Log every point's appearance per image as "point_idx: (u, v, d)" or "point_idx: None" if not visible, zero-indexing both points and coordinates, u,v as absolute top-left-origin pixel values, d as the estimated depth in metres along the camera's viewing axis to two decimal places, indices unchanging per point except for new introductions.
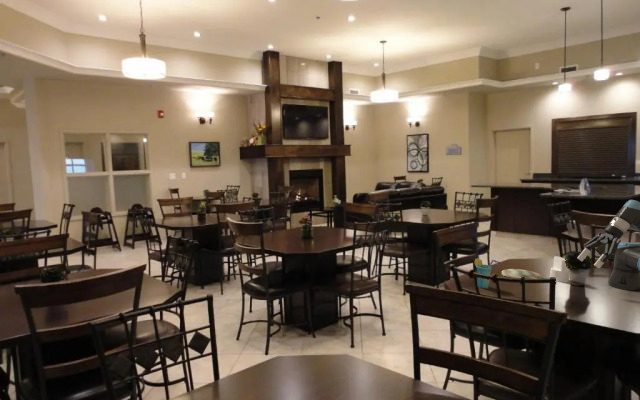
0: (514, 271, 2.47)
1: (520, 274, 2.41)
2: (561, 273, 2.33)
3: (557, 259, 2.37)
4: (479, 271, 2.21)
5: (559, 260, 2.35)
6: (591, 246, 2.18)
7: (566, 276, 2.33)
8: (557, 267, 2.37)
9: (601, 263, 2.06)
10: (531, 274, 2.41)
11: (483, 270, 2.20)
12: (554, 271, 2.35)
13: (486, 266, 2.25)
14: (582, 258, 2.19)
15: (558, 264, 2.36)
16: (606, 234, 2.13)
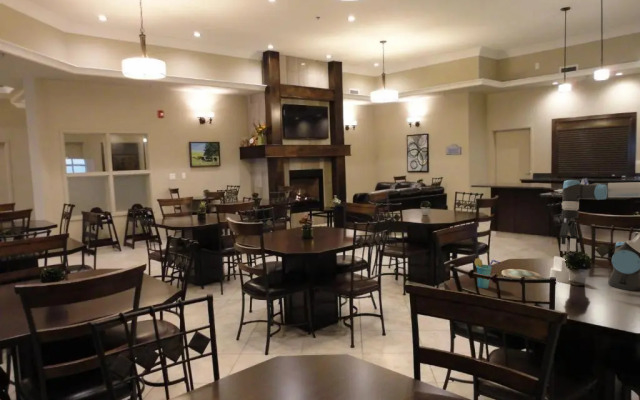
0: (514, 271, 2.47)
1: (520, 274, 2.41)
2: (561, 273, 2.33)
3: (557, 259, 2.37)
4: (479, 271, 2.21)
5: (559, 260, 2.35)
6: (572, 234, 2.31)
7: (566, 276, 2.33)
8: (557, 267, 2.37)
9: (564, 246, 2.21)
10: (531, 274, 2.41)
11: (483, 270, 2.20)
12: (554, 271, 2.35)
13: (486, 266, 2.25)
14: (573, 248, 2.31)
15: (558, 264, 2.36)
16: None
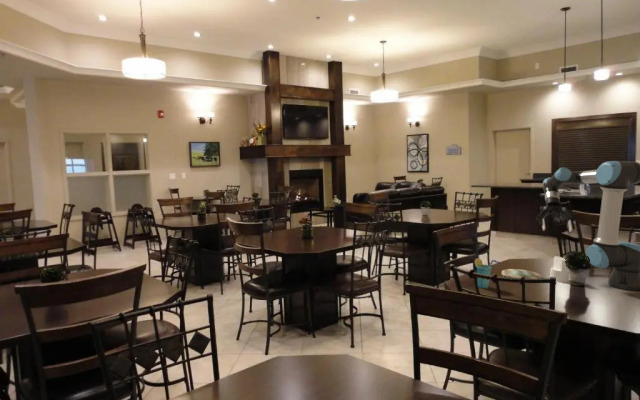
0: (514, 271, 2.47)
1: (520, 274, 2.41)
2: (561, 273, 2.33)
3: (557, 259, 2.37)
4: (479, 271, 2.21)
5: (559, 260, 2.35)
6: (566, 218, 2.49)
7: (566, 276, 2.33)
8: (557, 267, 2.37)
9: (543, 225, 2.48)
10: (531, 274, 2.41)
11: (483, 270, 2.19)
12: (554, 271, 2.35)
13: (486, 266, 2.25)
14: (570, 228, 2.44)
15: (558, 264, 2.36)
16: None
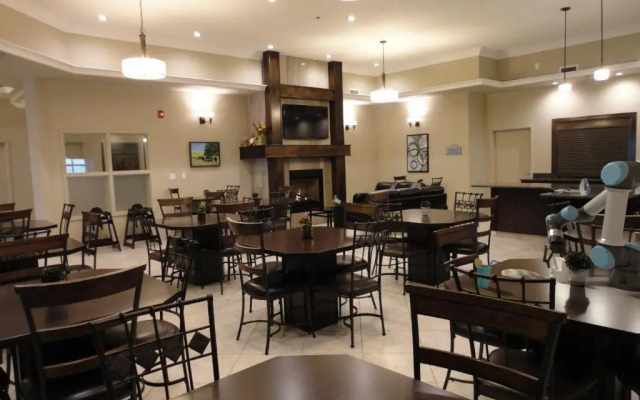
0: (514, 271, 2.47)
1: (520, 274, 2.41)
2: (561, 273, 2.33)
3: (557, 259, 2.37)
4: (479, 271, 2.21)
5: (559, 260, 2.35)
6: None
7: (566, 276, 2.33)
8: (557, 267, 2.37)
9: (550, 268, 2.37)
10: (531, 274, 2.41)
11: (483, 270, 2.20)
12: (554, 271, 2.35)
13: (486, 266, 2.25)
14: None
15: (558, 263, 2.36)
16: None
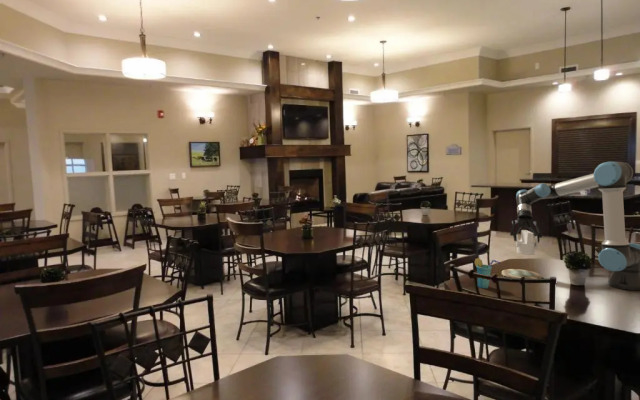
0: (514, 271, 2.47)
1: (520, 274, 2.41)
2: (526, 245, 2.38)
3: (524, 232, 2.42)
4: (479, 271, 2.21)
5: (525, 233, 2.40)
6: (534, 233, 2.43)
7: (532, 248, 2.38)
8: (524, 240, 2.42)
9: (516, 241, 2.42)
10: (531, 274, 2.41)
11: (483, 270, 2.20)
12: (520, 244, 2.40)
13: (486, 266, 2.25)
14: (536, 244, 2.38)
15: (524, 236, 2.41)
16: None
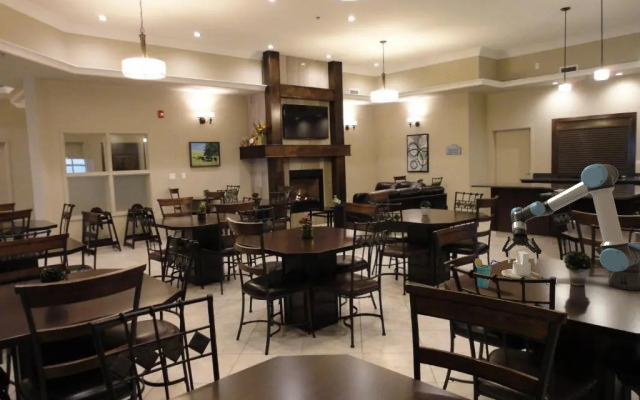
0: None
1: None
2: (522, 266, 2.39)
3: (519, 253, 2.43)
4: (479, 271, 2.21)
5: (521, 253, 2.41)
6: (532, 250, 2.44)
7: (527, 269, 2.39)
8: (519, 260, 2.43)
9: (508, 257, 2.44)
10: (531, 274, 2.41)
11: (483, 270, 2.20)
12: (516, 264, 2.41)
13: (486, 266, 2.25)
14: (535, 261, 2.39)
15: (520, 257, 2.42)
16: None
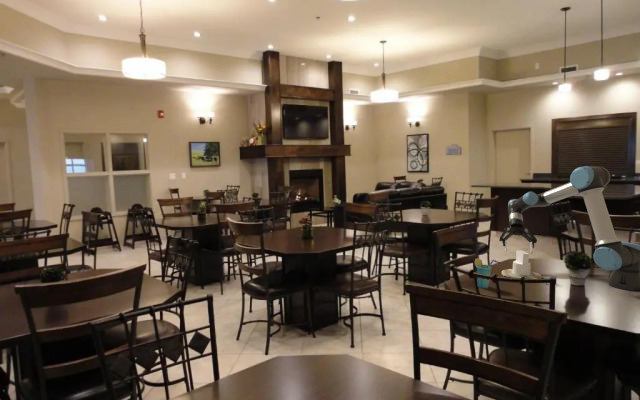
0: None
1: None
2: (522, 266, 2.39)
3: (519, 253, 2.43)
4: (479, 271, 2.21)
5: (521, 253, 2.41)
6: (528, 240, 2.57)
7: (527, 269, 2.39)
8: (519, 260, 2.43)
9: (505, 246, 2.56)
10: (531, 274, 2.41)
11: (483, 270, 2.20)
12: (516, 264, 2.41)
13: (486, 266, 2.25)
14: (531, 249, 2.51)
15: (520, 257, 2.42)
16: None
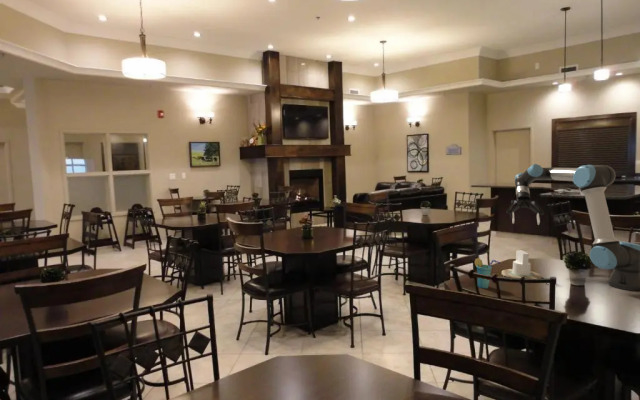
0: None
1: None
2: (522, 266, 2.39)
3: (519, 253, 2.43)
4: (479, 271, 2.21)
5: (521, 253, 2.41)
6: (535, 212, 2.60)
7: (527, 269, 2.39)
8: (519, 260, 2.43)
9: (512, 218, 2.59)
10: (531, 274, 2.41)
11: (483, 270, 2.20)
12: (516, 264, 2.41)
13: (486, 266, 2.25)
14: (538, 221, 2.55)
15: (520, 257, 2.42)
16: None
